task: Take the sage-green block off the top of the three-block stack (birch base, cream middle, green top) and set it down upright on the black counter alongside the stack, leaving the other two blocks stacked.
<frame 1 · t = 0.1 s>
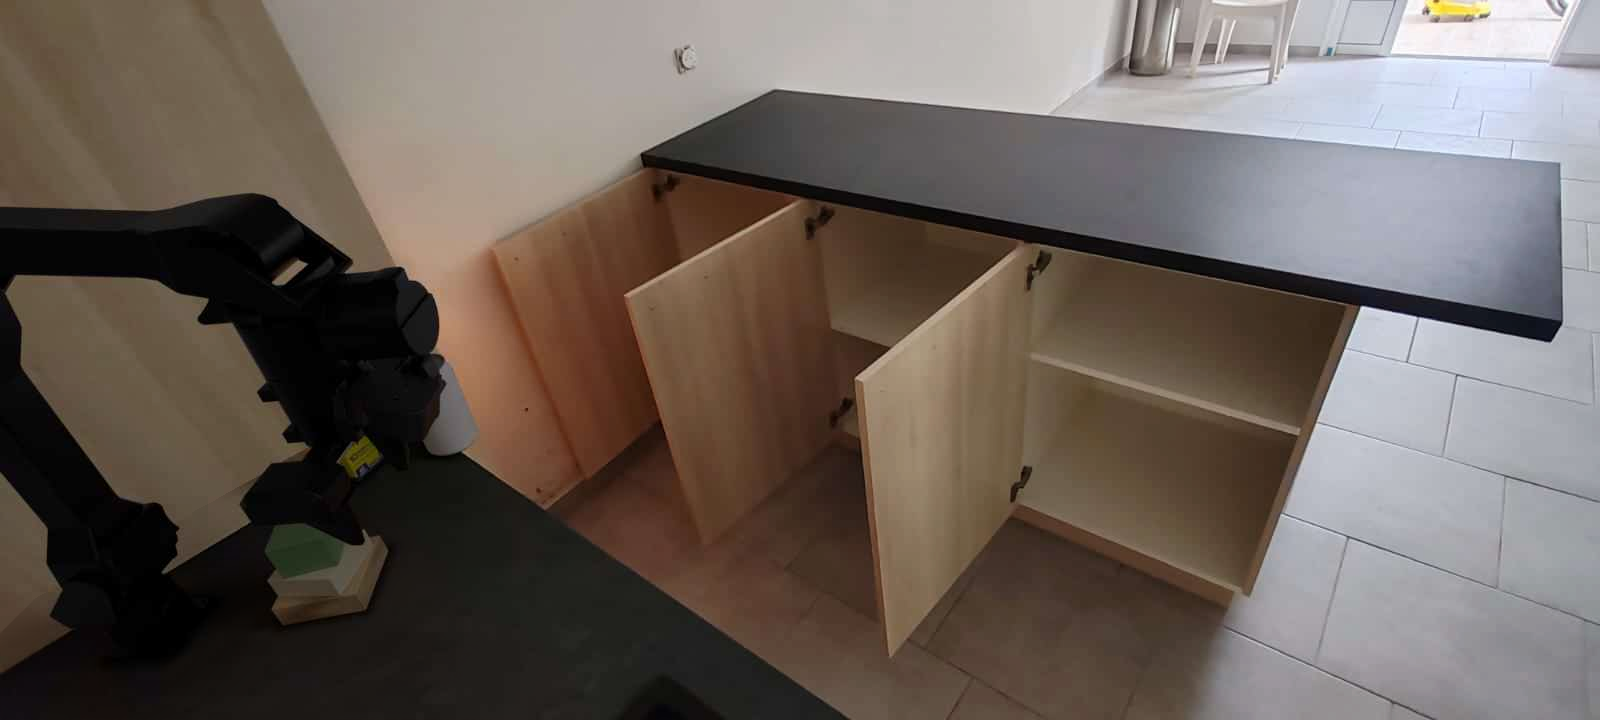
hand: (382, 504, 66), 15 cm above the table, tool pointing down, fingers open, 9 cm apart
can: (454, 442, 97), on the table
supplement box: (360, 464, 95), on the table
green block: (317, 554, 75), point 5 cm above the table, touching cream middle block
cream middle block: (327, 570, 76), point 2 cm above the table, touching birch base block, green block
birch base block: (338, 586, 78), on the table, touching cream middle block
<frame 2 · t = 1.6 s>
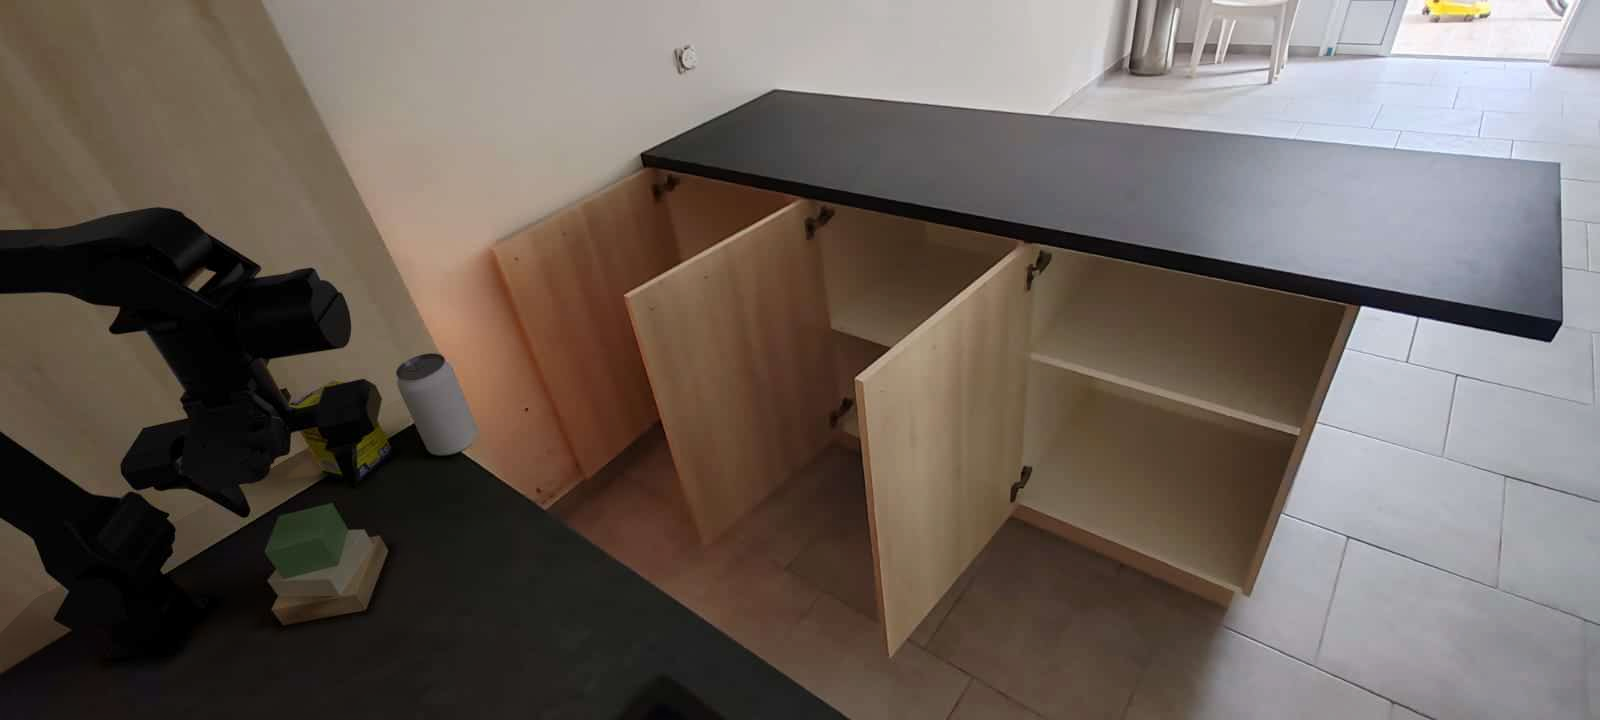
hand: (302, 500, 70), 13 cm above the table, tool pointing down, fingers open, 9 cm apart
nothing on the table moved.
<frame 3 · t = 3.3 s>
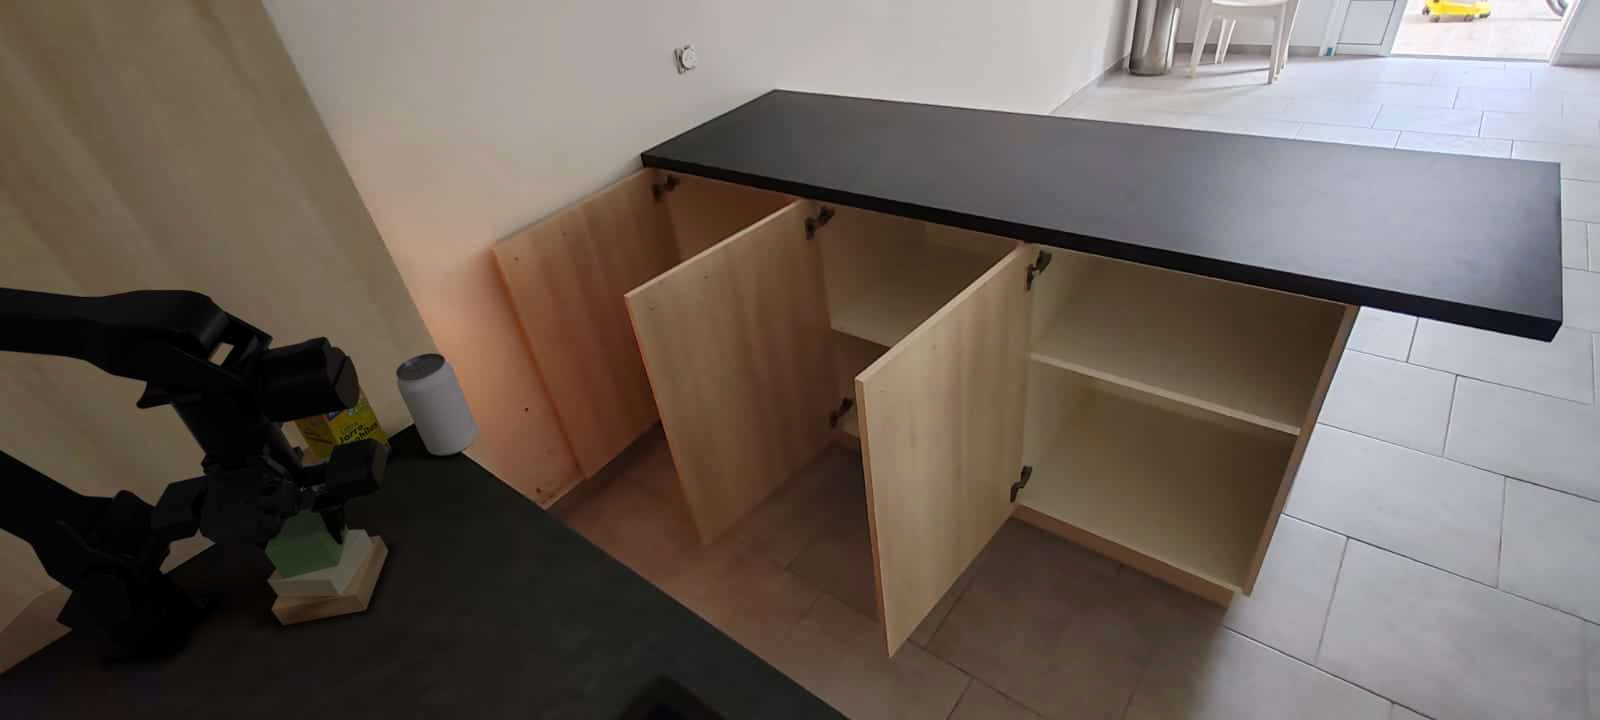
hand: (313, 548, 75), 6 cm above the table, tool pointing down, fingers closed on green block, 5 cm apart
green block: (317, 554, 75), point 5 cm above the table, touching cream middle block, gripper
everything else where it was.
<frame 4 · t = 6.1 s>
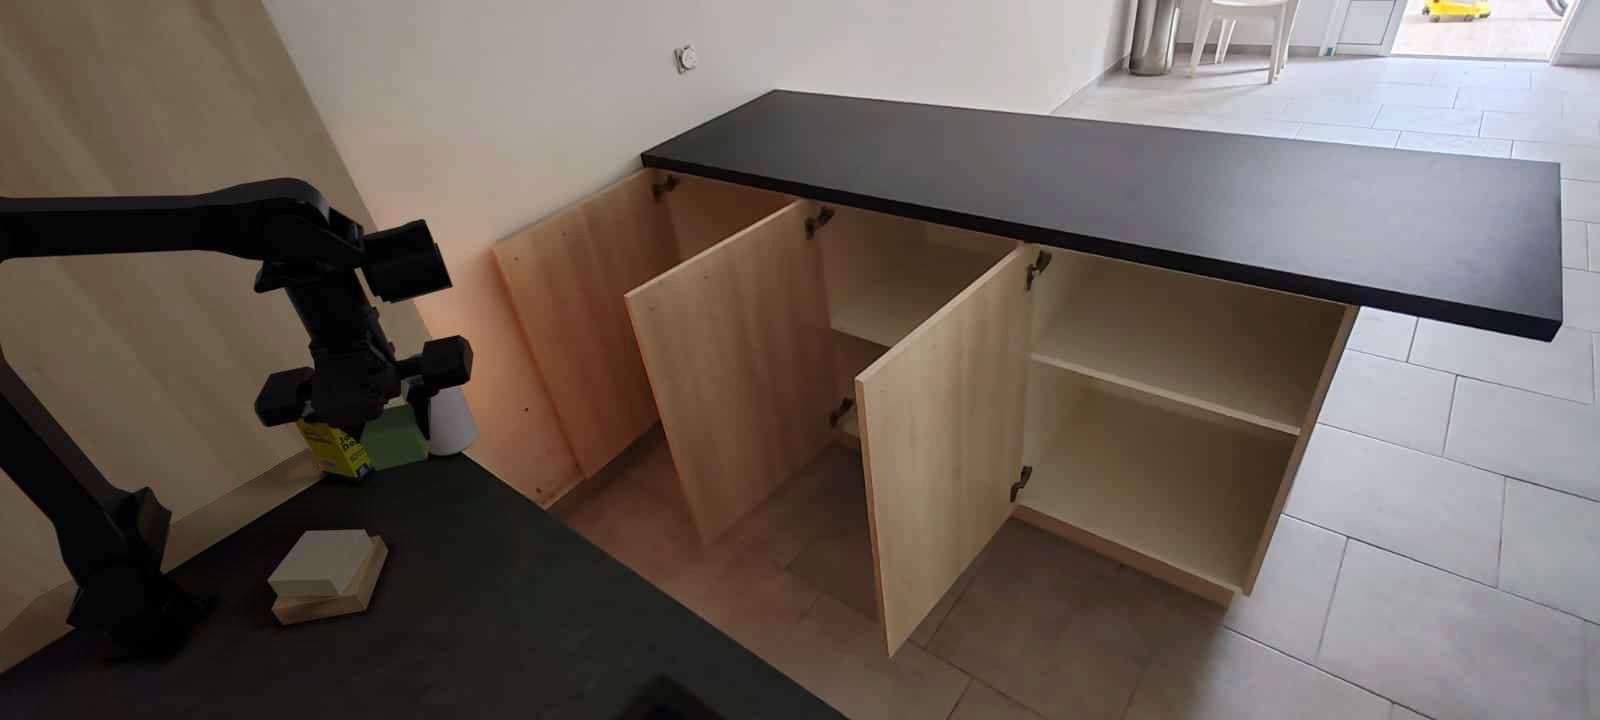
hand: (402, 444, 78), 12 cm above the table, tool pointing down, fingers closed on green block, 5 cm apart
green block: (405, 450, 78), point 11 cm above the table, touching gripper
cream middle block: (327, 570, 76), point 3 cm above the table, touching birch base block
everything else where it was.
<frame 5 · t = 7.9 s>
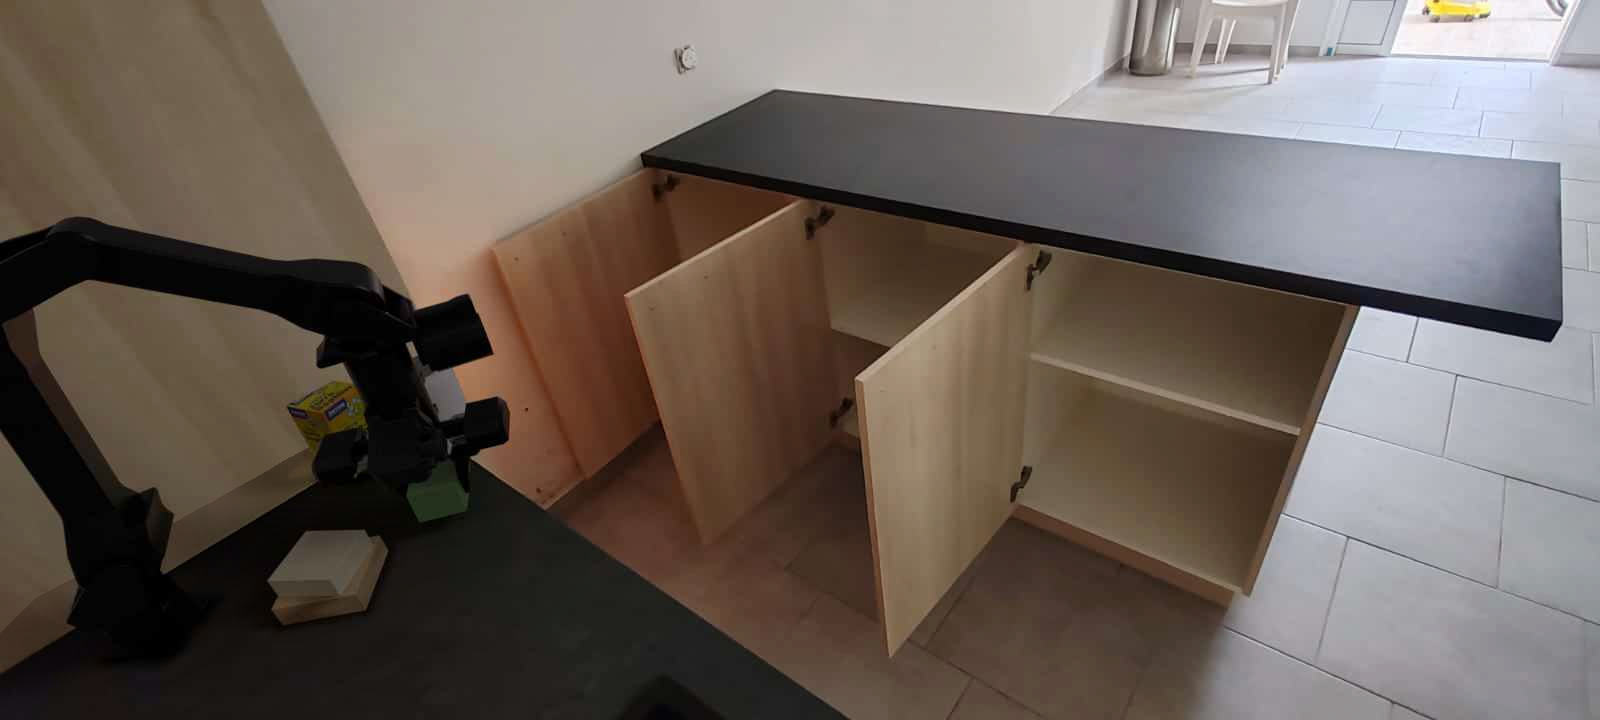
hand: (443, 496, 83), 3 cm above the table, tool pointing down, fingers closed on green block, 5 cm apart
green block: (445, 501, 84), point 2 cm above the table, touching gripper
everything else where it was.
when the fingers open (1 cm above the table, at t = 9.0 s): green block stays where it is, on the table.
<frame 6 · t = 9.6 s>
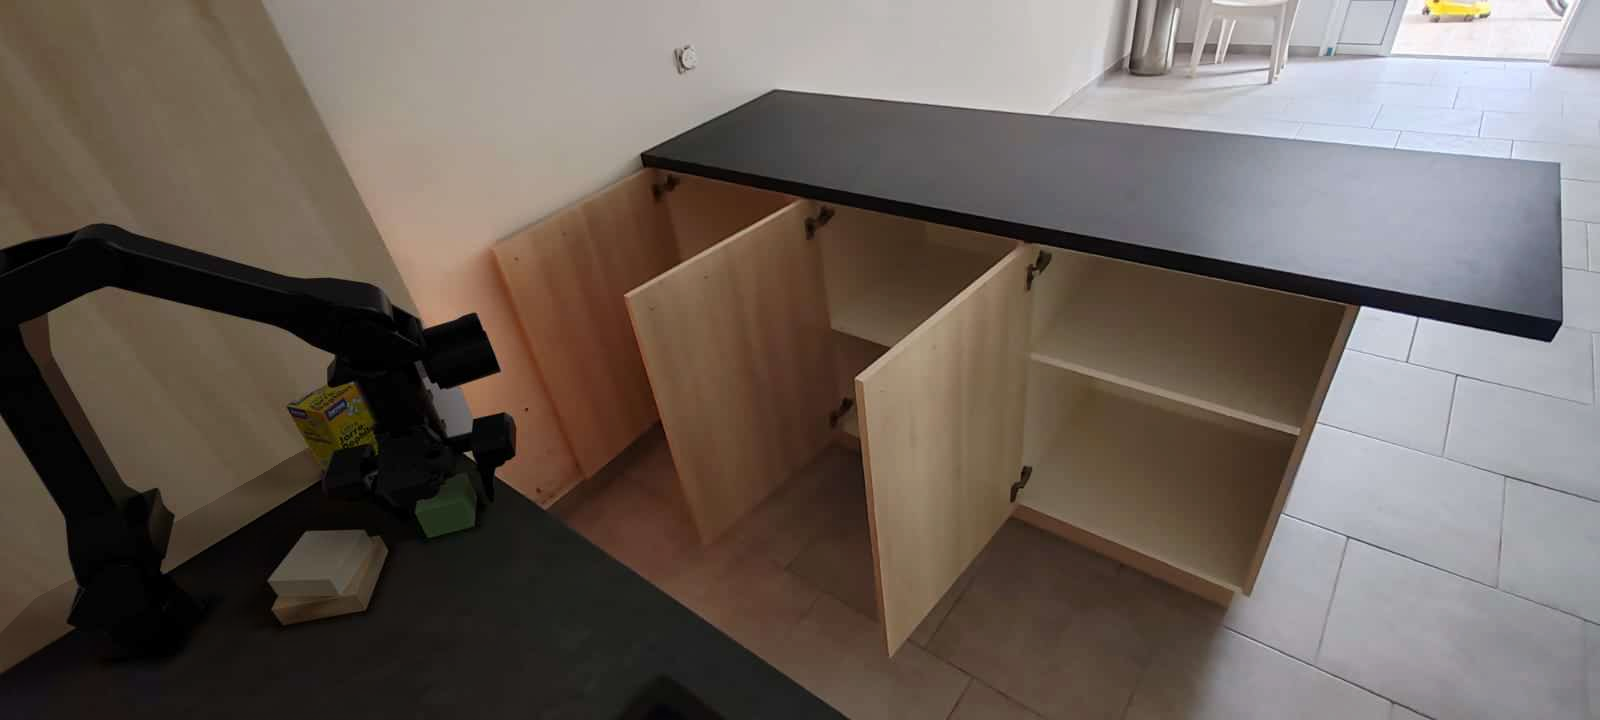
hand: (450, 510, 85), 1 cm above the table, tool pointing down, fingers open, 9 cm apart
green block: (453, 517, 85), on the table
everything else where it was.
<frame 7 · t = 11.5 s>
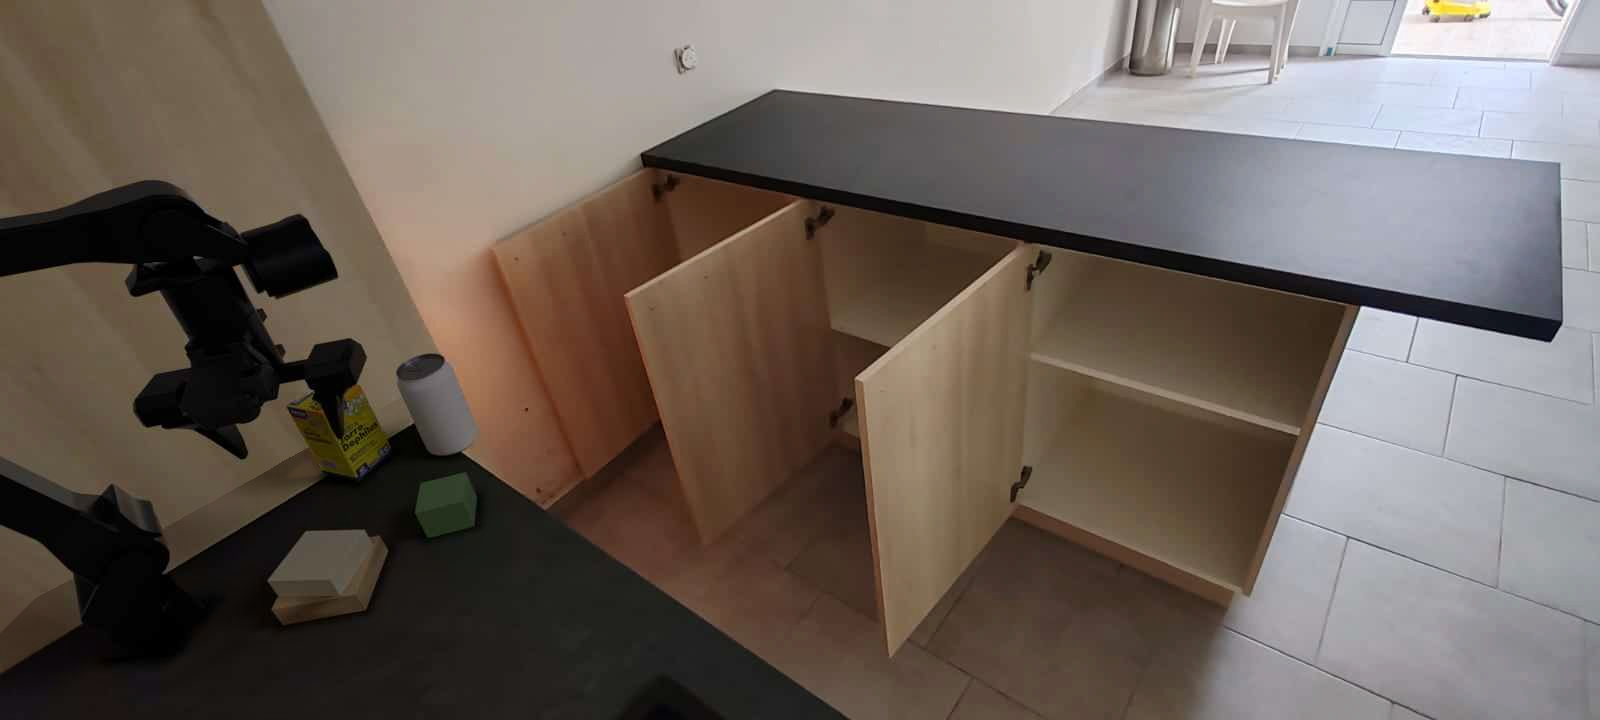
hand: (293, 446, 77), 13 cm above the table, tool pointing down, fingers open, 9 cm apart
nothing on the table moved.
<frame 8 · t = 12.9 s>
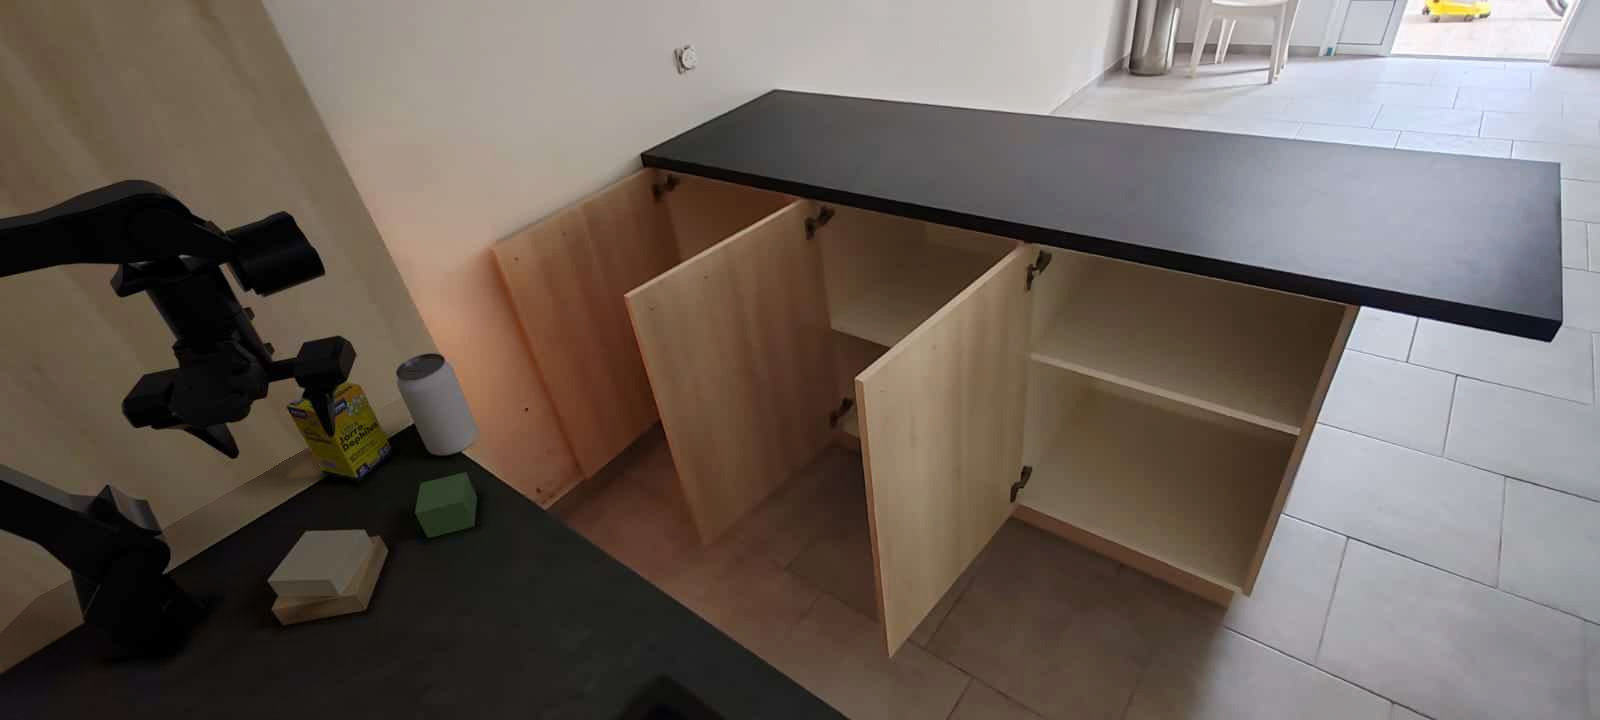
hand: (285, 445, 77), 13 cm above the table, tool pointing down, fingers open, 9 cm apart
nothing on the table moved.
at the end: green block 0.0 cm from the target spot, on the table; green block tilted 0°; cream middle block 0.0 cm off-centre on the birch base block, point 2.5 cm above the birch base block's base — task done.
